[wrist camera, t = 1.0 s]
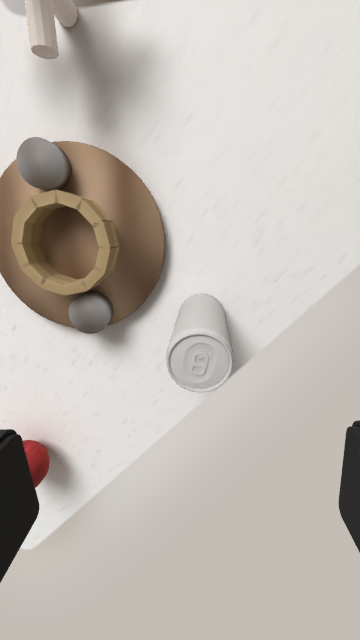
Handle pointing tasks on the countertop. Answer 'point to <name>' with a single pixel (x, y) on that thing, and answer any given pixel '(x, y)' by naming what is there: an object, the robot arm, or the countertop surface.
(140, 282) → the carrier
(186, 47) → the countertop surface
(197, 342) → the beverage can
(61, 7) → the pipe connector
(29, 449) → the onion
